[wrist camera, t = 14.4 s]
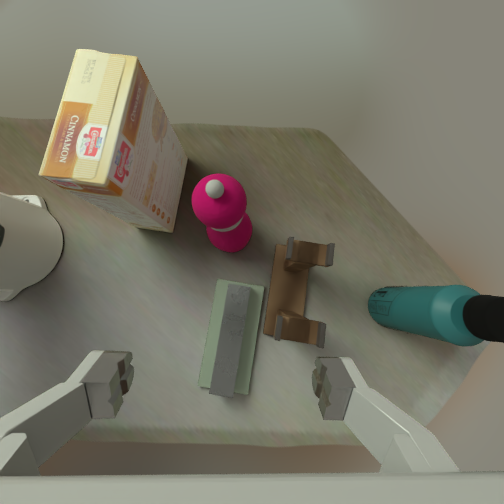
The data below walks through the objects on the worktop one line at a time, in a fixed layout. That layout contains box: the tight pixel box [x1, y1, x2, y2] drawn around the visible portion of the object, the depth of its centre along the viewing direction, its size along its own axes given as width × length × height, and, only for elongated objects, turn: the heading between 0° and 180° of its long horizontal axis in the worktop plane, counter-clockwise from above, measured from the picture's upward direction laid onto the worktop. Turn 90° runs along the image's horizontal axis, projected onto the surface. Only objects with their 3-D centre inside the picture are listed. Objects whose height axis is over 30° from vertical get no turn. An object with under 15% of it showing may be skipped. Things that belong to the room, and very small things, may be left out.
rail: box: [209, 283, 251, 398], centre depth 36 cm, size 4×16×3 cm, turn 171°
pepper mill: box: [192, 174, 252, 252], centre depth 31 cm, size 7×7×20 cm
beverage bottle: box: [368, 285, 504, 346], centre depth 29 cm, size 6×7×20 cm
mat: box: [198, 279, 264, 395], centre depth 38 cm, size 8×17×1 cm, turn 171°
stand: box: [263, 237, 335, 348], centre depth 33 cm, size 6×15×14 cm, turn 171°
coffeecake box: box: [39, 49, 188, 233], centre depth 33 cm, size 15×7×20 cm, turn 172°
